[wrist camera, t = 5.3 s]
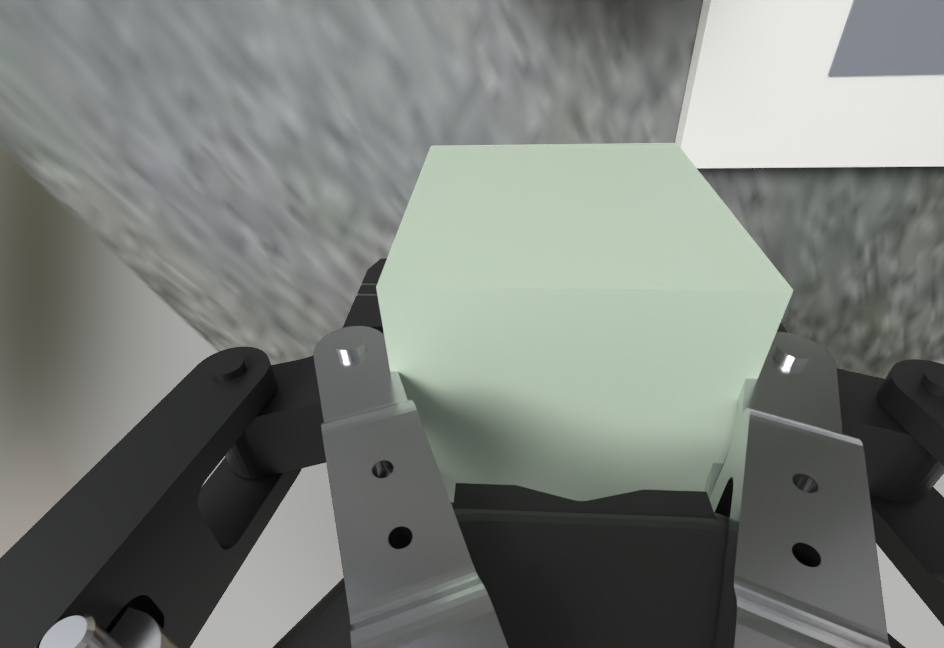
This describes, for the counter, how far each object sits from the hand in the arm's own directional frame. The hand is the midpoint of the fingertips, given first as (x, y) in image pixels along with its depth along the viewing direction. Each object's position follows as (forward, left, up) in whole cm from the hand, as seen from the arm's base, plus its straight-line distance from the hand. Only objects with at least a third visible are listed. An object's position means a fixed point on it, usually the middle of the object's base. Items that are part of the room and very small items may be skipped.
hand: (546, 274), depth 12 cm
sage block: (0, 0, -1) cm, 1 cm away
